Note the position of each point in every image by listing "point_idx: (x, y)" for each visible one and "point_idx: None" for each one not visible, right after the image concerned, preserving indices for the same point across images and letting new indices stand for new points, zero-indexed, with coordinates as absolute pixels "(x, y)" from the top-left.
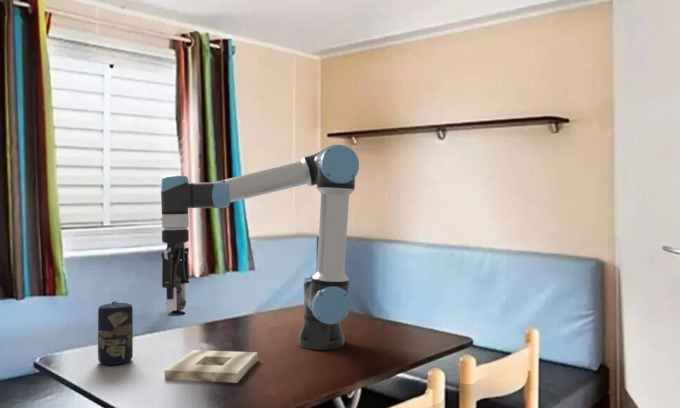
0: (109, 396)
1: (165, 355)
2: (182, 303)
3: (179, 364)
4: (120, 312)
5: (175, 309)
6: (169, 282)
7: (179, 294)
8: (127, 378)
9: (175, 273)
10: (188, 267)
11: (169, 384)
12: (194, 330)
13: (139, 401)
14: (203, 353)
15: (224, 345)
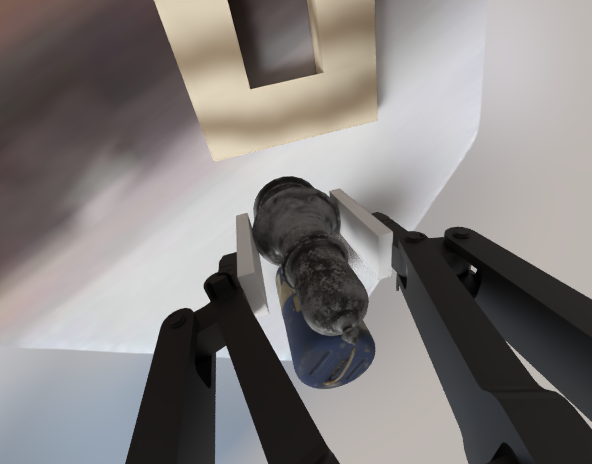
0: (454, 154)
1: (228, 227)
2: (312, 188)
3: (334, 113)
4: (359, 326)
5: (341, 190)
6: (485, 242)
7: (316, 226)
8: (373, 191)
9: (445, 300)
10: (139, 421)
11: (392, 87)
12: (4, 313)
13: (478, 84)
14: (229, 111)
15: (57, 149)
